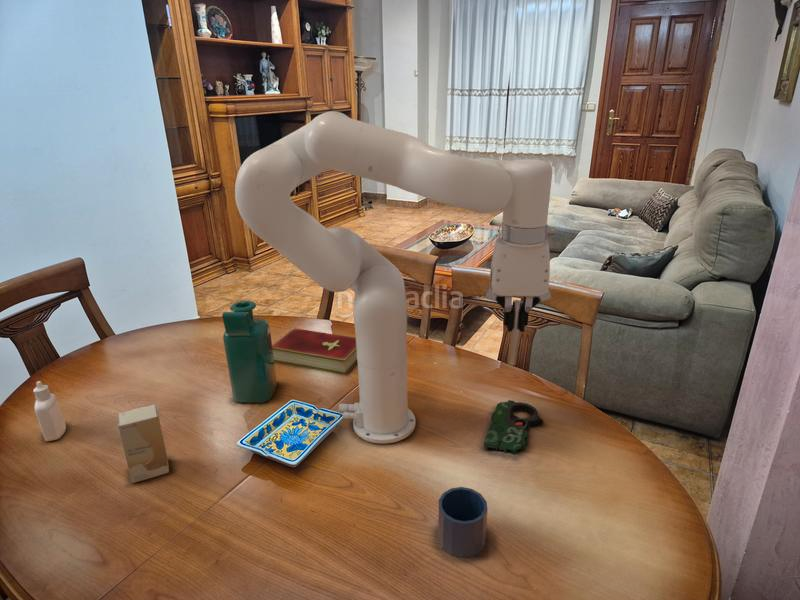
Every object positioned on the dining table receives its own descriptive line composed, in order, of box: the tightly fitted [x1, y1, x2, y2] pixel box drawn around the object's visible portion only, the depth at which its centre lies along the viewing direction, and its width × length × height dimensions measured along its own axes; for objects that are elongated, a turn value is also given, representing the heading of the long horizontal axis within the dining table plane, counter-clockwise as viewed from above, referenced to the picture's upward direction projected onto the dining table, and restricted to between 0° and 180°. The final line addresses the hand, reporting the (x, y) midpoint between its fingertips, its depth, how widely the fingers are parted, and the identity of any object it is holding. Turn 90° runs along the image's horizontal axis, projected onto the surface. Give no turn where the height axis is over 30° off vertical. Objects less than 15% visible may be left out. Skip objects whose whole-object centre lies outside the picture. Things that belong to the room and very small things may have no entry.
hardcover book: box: [272, 327, 358, 376], centre depth 130 cm, size 12×21×4 cm, turn 70°
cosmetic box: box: [117, 403, 170, 484], centre depth 90 cm, size 6×4×12 cm
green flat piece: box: [483, 399, 544, 456], centre depth 101 cm, size 16×2×10 cm
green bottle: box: [222, 300, 278, 404], centre depth 110 cm, size 10×8×22 cm
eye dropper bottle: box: [32, 380, 67, 442], centre depth 101 cm, size 4×6×12 cm
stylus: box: [507, 299, 523, 366], centre depth 96 cm, size 2×2×13 cm
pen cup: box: [437, 486, 488, 559], centre depth 76 cm, size 7×7×7 cm
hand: (514, 328), depth 96 cm, fingers closed on stylus, 1 cm apart
